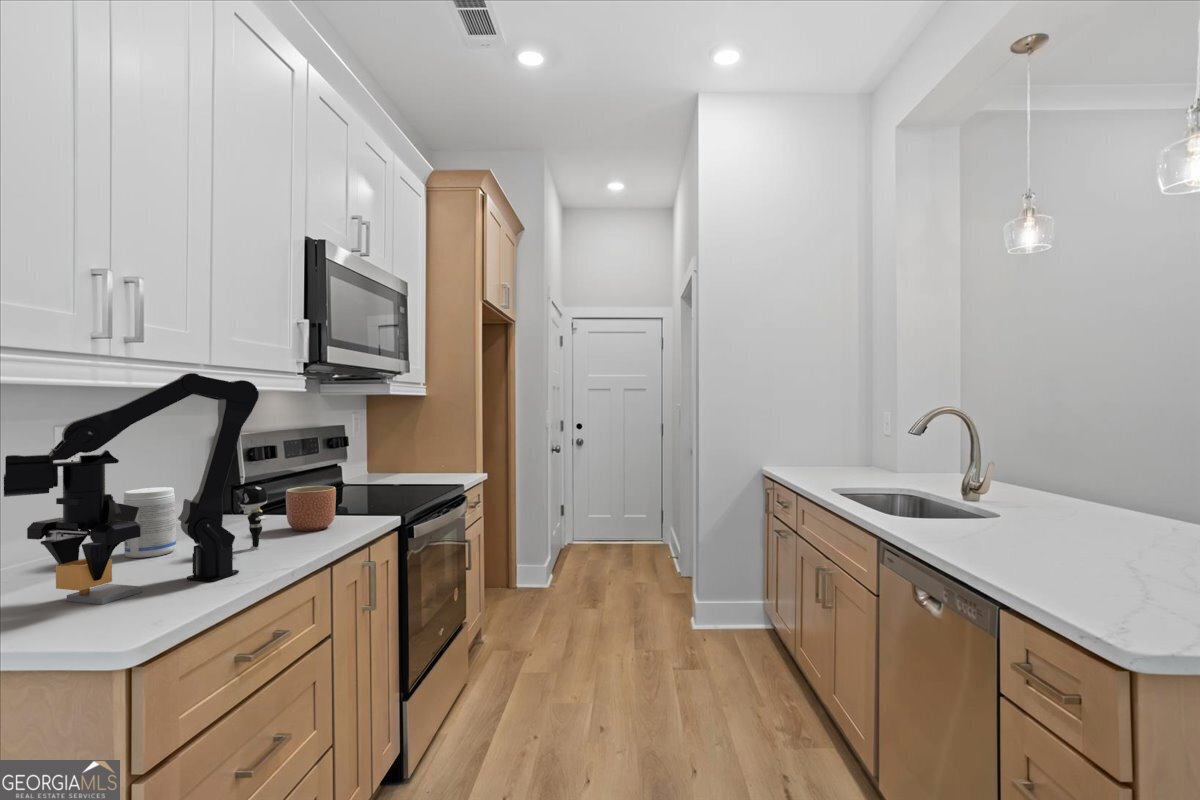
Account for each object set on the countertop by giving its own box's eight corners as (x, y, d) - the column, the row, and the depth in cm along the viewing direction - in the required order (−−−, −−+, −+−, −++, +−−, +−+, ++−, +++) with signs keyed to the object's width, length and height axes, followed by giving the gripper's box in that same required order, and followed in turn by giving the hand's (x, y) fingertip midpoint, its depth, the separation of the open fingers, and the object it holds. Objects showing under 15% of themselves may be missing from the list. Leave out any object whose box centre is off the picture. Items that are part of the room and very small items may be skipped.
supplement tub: (185, 548, 145) (184, 486, 145) (158, 558, 136) (158, 492, 136) (142, 549, 144) (142, 487, 145) (112, 559, 135) (112, 492, 135)
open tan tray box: (111, 581, 110) (111, 559, 110) (79, 590, 104) (79, 567, 104) (88, 579, 111) (88, 557, 111) (55, 588, 106) (55, 565, 106)
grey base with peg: (141, 591, 112) (141, 561, 112) (102, 604, 105) (102, 572, 105) (107, 588, 114) (107, 559, 114) (66, 600, 107) (66, 569, 107)
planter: (332, 522, 176) (332, 484, 176) (339, 530, 165) (339, 489, 165) (283, 527, 169) (283, 487, 169) (288, 535, 159) (288, 493, 159)
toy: (233, 546, 147) (232, 483, 147) (261, 542, 151) (261, 481, 151) (246, 556, 137) (246, 489, 137) (276, 552, 141) (276, 486, 141)
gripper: (169, 485, 113) (169, 569, 113) (91, 483, 118) (91, 564, 118) (107, 494, 103) (108, 587, 103) (24, 491, 107) (24, 580, 107)
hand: (84, 579), depth 108 cm, fingers closed on open tan tray box, 5 cm apart
